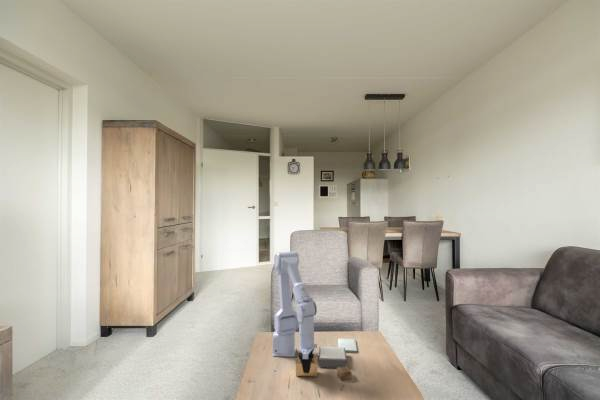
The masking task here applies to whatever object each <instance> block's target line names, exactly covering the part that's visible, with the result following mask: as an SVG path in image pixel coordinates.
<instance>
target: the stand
mask: <svg viewBox="0 0 600 400" xmlns="http://www.w3.org/2000/svg"><path fill="white" fill-rule="evenodd" d="M318 348H319V351H318V352H319V353H318V368H330V369H331V368H332V369H337V368H338V367H344V366H347V367H348V360H347V359H348V358H347V353H346V351H345V348H344V347H338V346H336V347H335V346H320V347H318Z"/></svg>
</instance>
